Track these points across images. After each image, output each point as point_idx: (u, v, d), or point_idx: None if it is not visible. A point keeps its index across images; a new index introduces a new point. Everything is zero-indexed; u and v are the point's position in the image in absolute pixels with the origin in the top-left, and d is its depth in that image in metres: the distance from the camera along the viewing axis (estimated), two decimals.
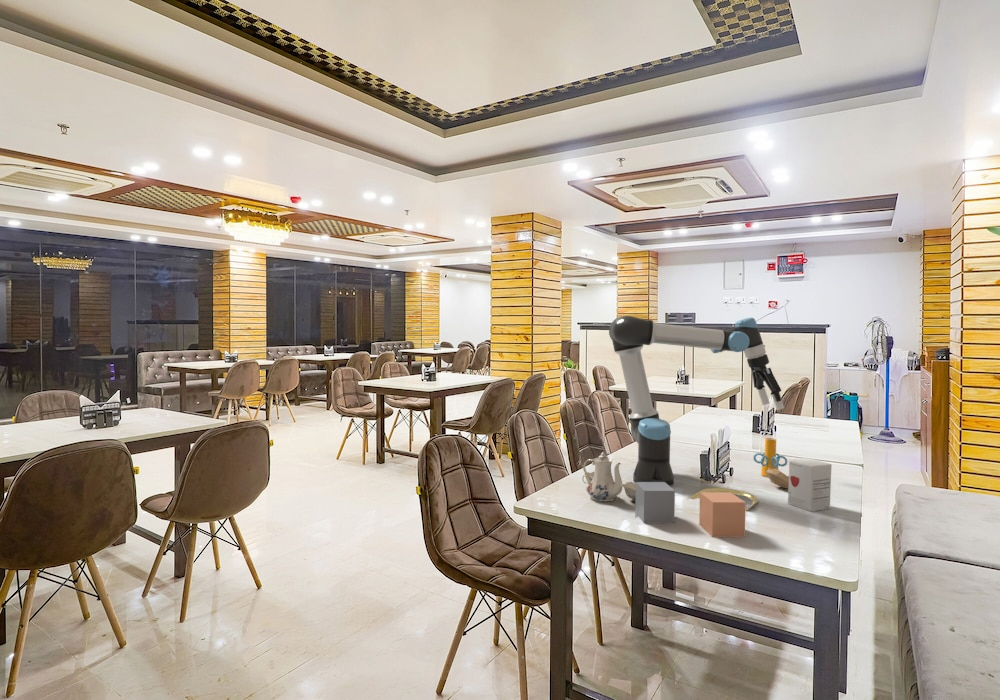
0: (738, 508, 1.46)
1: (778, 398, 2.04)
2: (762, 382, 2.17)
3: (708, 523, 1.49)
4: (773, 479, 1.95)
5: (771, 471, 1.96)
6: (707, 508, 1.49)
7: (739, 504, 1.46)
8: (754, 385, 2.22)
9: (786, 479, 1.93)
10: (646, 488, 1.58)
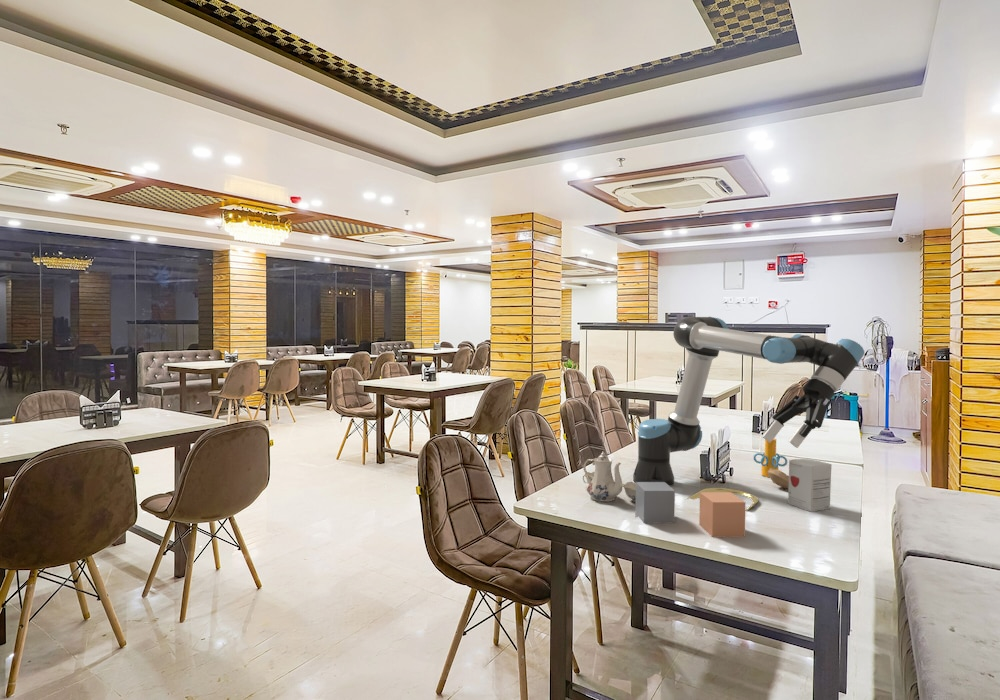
0: (738, 508, 1.46)
1: (806, 432, 1.46)
2: (790, 417, 1.60)
3: (708, 523, 1.49)
4: (775, 479, 1.94)
5: (773, 471, 1.95)
6: (707, 508, 1.49)
7: (739, 504, 1.46)
8: (774, 415, 1.64)
9: (788, 479, 1.93)
10: (646, 488, 1.58)
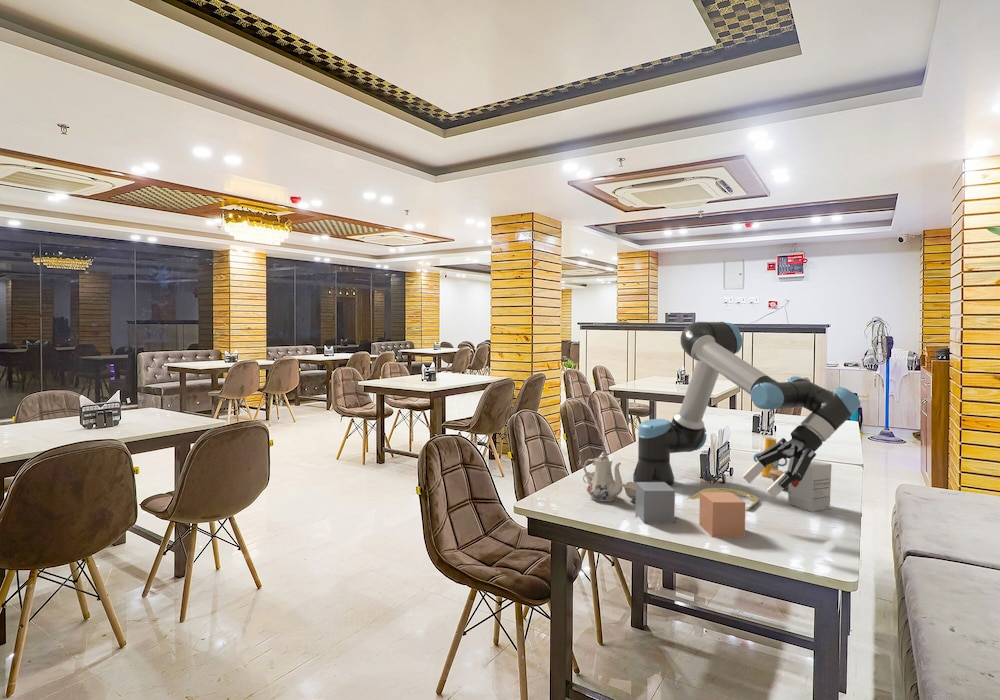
0: (738, 508, 1.46)
1: (785, 483, 1.42)
2: (773, 460, 1.55)
3: (708, 523, 1.49)
4: None
5: (774, 472, 1.95)
6: (707, 508, 1.49)
7: (739, 504, 1.46)
8: (758, 455, 1.59)
9: None
10: (646, 488, 1.58)
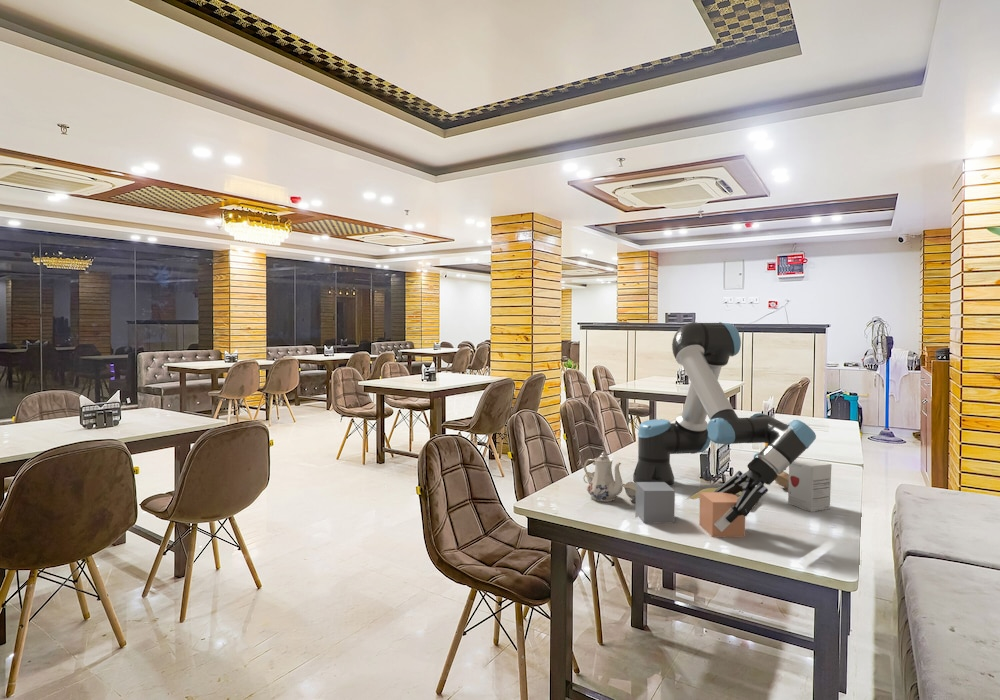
0: None
1: (731, 518, 1.44)
2: None
3: (708, 523, 1.49)
4: (779, 480, 1.93)
5: None
6: (707, 508, 1.49)
7: None
8: (716, 490, 1.58)
9: None
10: (646, 488, 1.58)
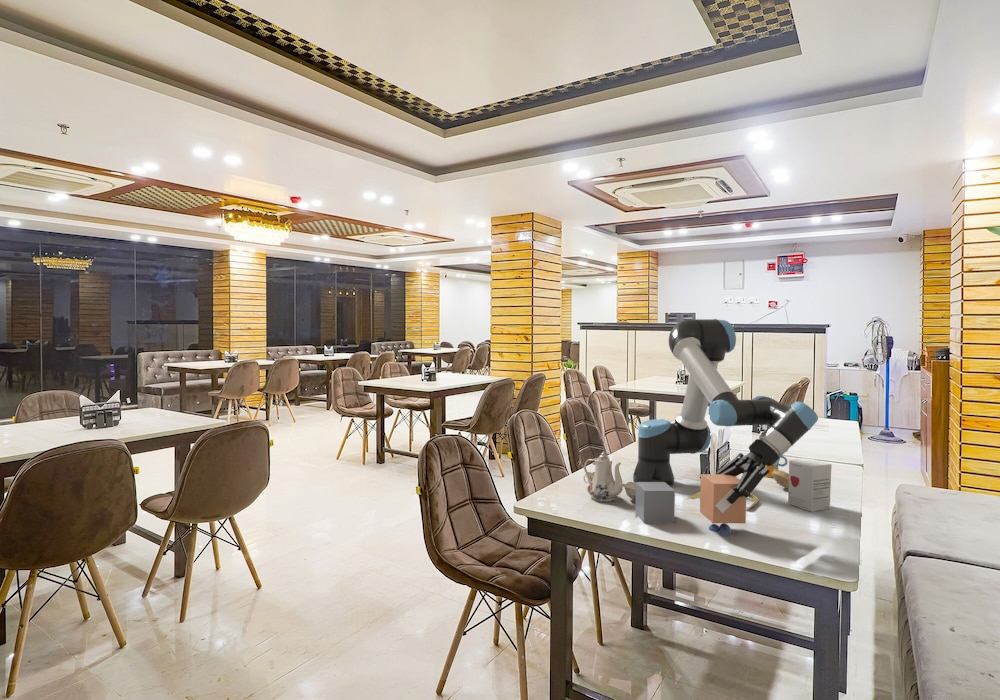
0: None
1: (732, 499, 1.44)
2: None
3: (709, 505, 1.48)
4: (780, 480, 1.93)
5: (777, 472, 1.94)
6: (708, 490, 1.49)
7: None
8: (717, 472, 1.57)
9: None
10: (646, 488, 1.58)
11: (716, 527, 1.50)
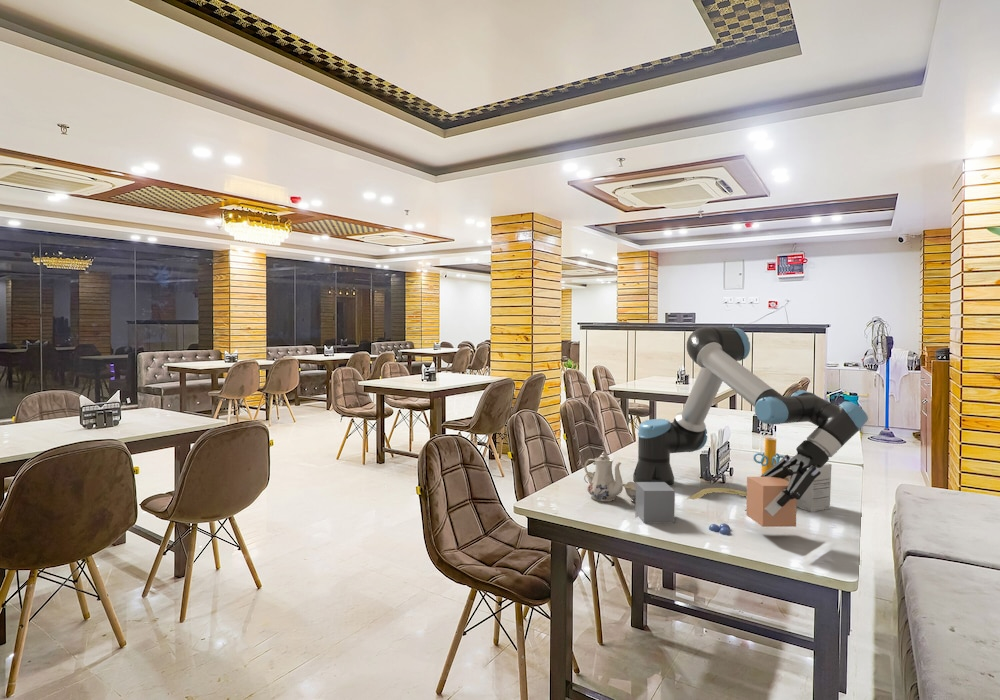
0: None
1: (783, 502, 1.40)
2: None
3: (758, 507, 1.45)
4: None
5: None
6: (756, 492, 1.45)
7: None
8: (763, 474, 1.54)
9: None
10: (646, 488, 1.58)
11: (716, 527, 1.50)
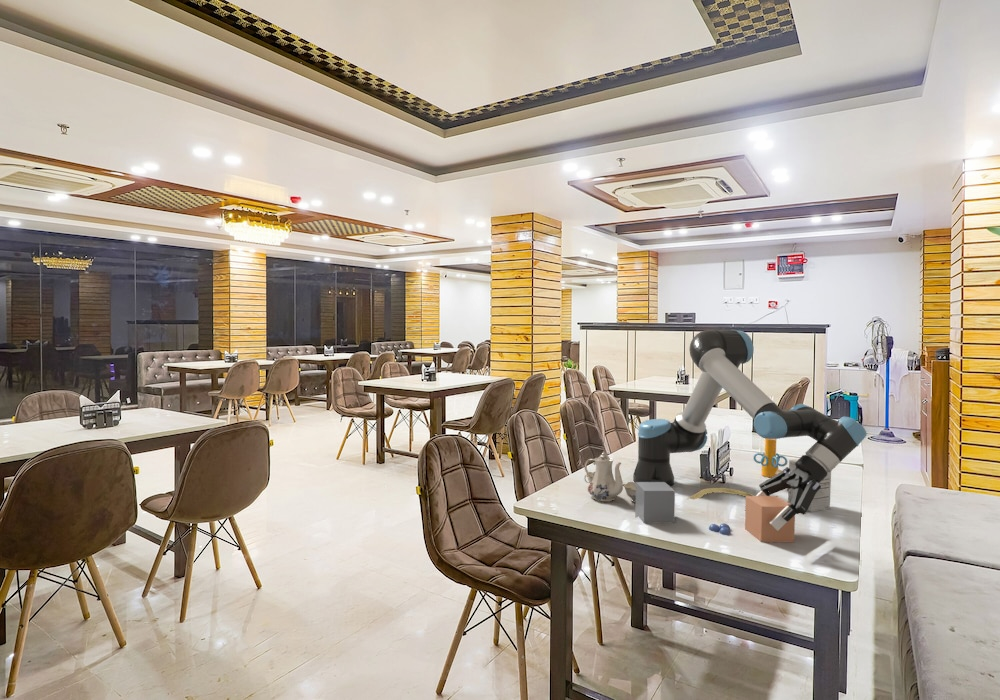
0: None
1: (788, 516, 1.39)
2: (777, 490, 1.52)
3: (756, 528, 1.45)
4: None
5: None
6: (755, 513, 1.46)
7: None
8: (762, 484, 1.56)
9: None
10: (646, 488, 1.58)
11: (716, 527, 1.50)
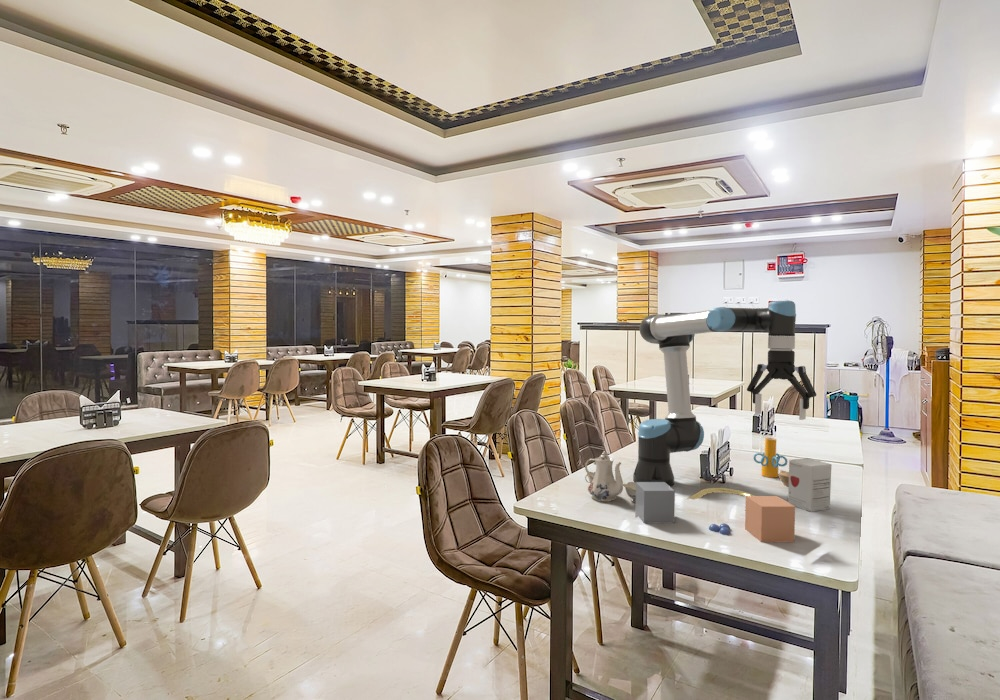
0: (788, 512, 1.43)
1: (808, 405, 1.63)
2: (765, 385, 1.74)
3: (756, 528, 1.45)
4: (787, 482, 1.91)
5: (785, 474, 1.92)
6: (755, 513, 1.46)
7: (789, 508, 1.43)
8: (749, 388, 1.76)
9: None
10: (646, 488, 1.58)
11: (716, 527, 1.50)
